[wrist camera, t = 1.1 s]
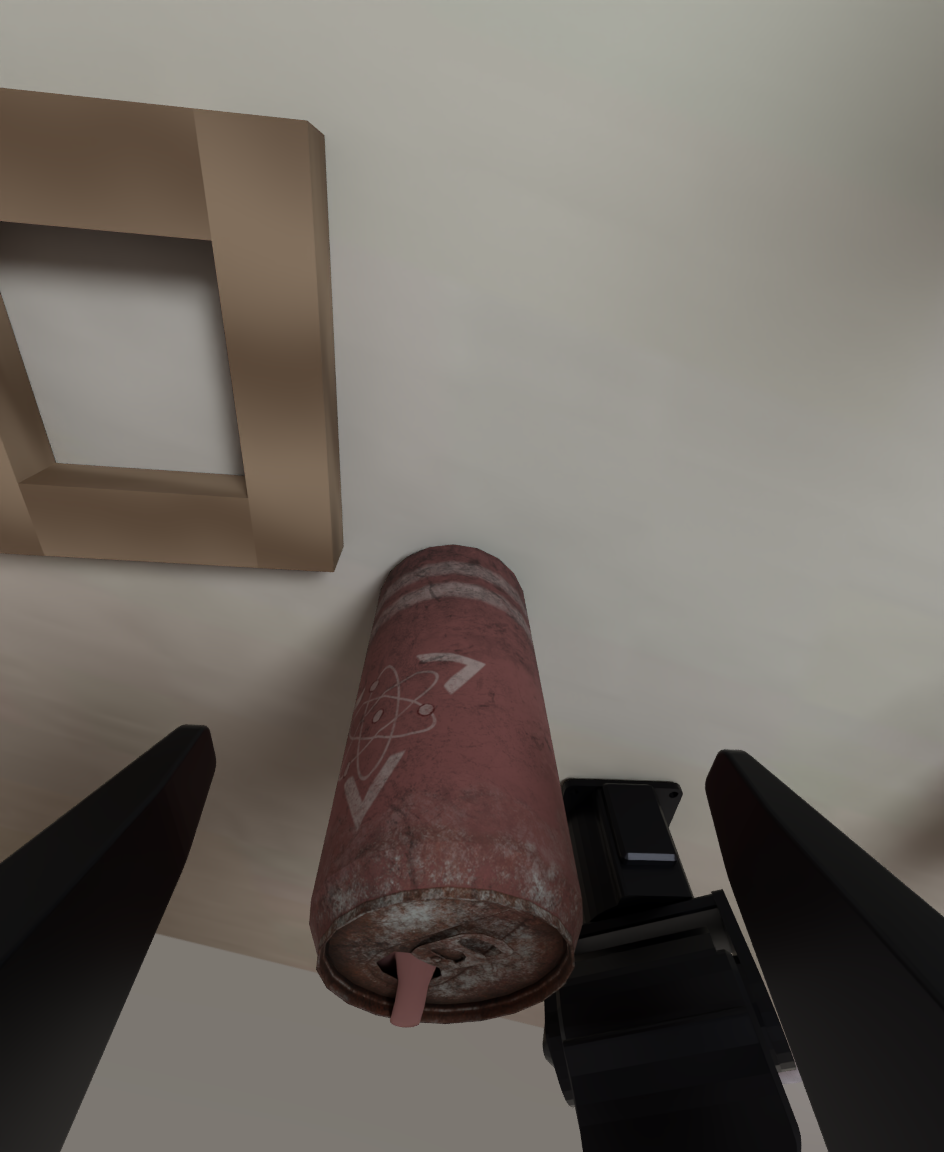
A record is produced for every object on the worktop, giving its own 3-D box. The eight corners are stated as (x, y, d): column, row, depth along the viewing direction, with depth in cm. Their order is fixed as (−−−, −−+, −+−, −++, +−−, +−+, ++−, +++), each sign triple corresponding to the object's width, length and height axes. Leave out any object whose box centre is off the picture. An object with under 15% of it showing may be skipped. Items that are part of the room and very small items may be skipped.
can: (372, 650, 25) (291, 1033, 13) (391, 526, 21) (306, 880, 9) (502, 669, 25) (543, 1047, 13) (539, 552, 22) (636, 910, 10)
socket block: (343, 546, 22) (333, 572, 20) (4, 526, 21) (-37, 550, 19) (324, 135, 15) (307, 120, 13) (-175, 82, 14) (-261, 60, 13)
